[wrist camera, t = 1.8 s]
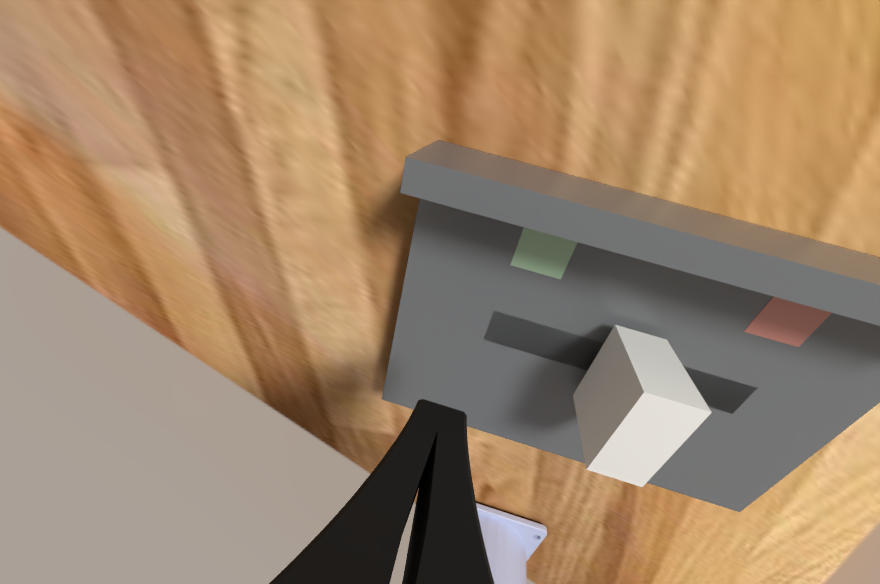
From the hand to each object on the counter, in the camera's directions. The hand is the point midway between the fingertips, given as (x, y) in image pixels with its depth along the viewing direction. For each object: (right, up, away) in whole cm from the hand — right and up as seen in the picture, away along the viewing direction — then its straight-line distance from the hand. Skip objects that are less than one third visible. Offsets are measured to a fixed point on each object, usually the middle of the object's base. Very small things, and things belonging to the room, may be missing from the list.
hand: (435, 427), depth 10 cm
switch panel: (+8, +2, +6) cm, 10 cm away
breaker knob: (+7, +1, +4) cm, 9 cm away
